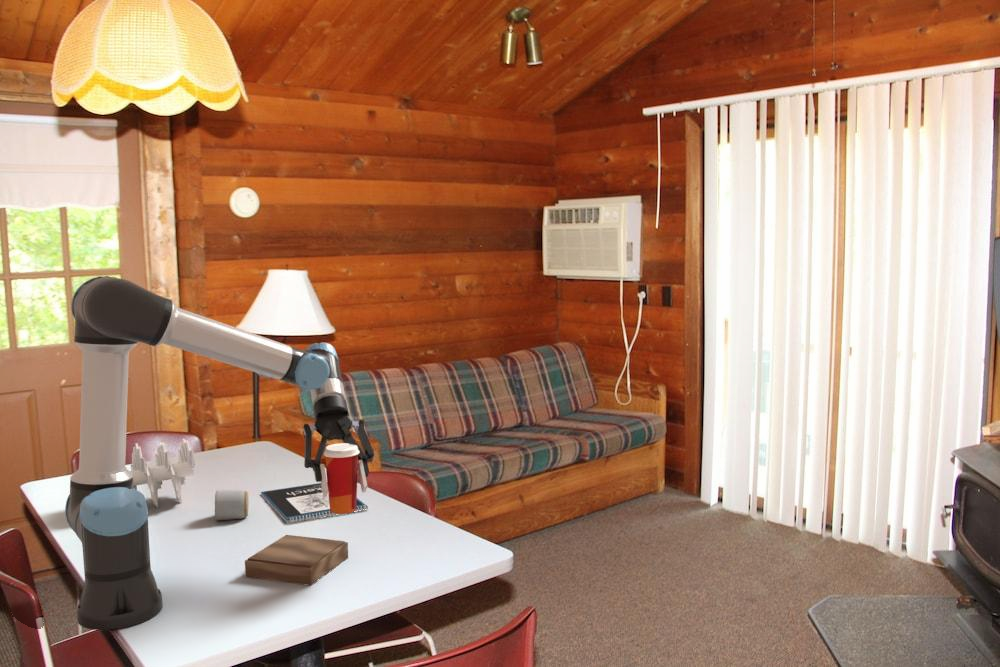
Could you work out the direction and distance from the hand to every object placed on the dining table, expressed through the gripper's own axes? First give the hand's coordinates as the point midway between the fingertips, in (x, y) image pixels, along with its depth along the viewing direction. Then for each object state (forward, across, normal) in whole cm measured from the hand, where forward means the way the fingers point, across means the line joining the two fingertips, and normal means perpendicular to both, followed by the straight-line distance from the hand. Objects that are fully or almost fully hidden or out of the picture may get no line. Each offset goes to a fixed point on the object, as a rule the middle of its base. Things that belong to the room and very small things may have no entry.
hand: (345, 491), depth 181 cm
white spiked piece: (-34, +41, -62) cm, 82 cm away
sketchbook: (-24, -2, -51) cm, 56 cm away
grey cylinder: (-22, +20, -48) cm, 57 cm away
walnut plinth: (+8, +9, -18) cm, 22 cm away
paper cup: (+1, 0, -6) cm, 6 cm away
